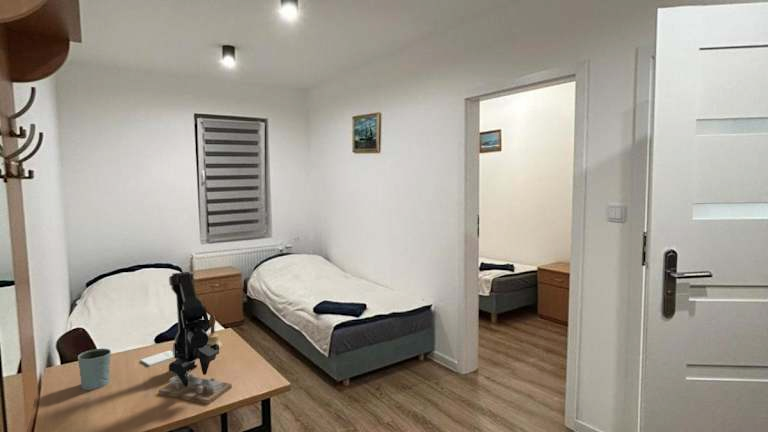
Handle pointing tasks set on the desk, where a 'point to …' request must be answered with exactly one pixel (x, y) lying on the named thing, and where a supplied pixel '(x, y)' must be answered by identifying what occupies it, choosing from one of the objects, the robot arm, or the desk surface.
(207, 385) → the grey i-beam piece
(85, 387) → the grey-blue cup
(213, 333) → the hand bell
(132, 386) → the desk surface
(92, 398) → the desk surface
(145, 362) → the external hard drive
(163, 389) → the peg board
